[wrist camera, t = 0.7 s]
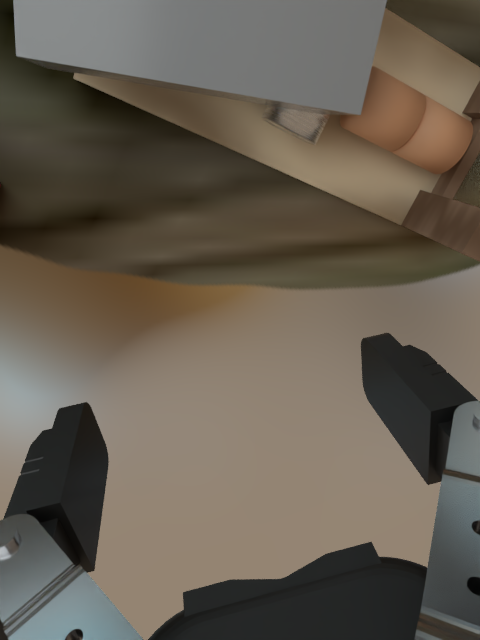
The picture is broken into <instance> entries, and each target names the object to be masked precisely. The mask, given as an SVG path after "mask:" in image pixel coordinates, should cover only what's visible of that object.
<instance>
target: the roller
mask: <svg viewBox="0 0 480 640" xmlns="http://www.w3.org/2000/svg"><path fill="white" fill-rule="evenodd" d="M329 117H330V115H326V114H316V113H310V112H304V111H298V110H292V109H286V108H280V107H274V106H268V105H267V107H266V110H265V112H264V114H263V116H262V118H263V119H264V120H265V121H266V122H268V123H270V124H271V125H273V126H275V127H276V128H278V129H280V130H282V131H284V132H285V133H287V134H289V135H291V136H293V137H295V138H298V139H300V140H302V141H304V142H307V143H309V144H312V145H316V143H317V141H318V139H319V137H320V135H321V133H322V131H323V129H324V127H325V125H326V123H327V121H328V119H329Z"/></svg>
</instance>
